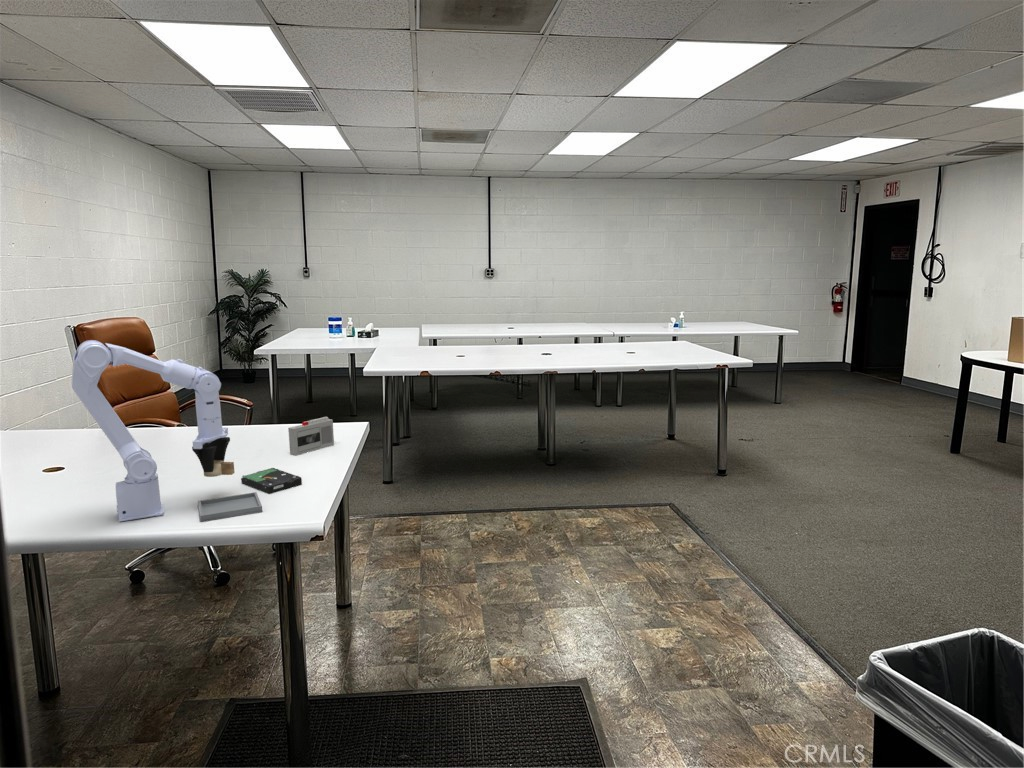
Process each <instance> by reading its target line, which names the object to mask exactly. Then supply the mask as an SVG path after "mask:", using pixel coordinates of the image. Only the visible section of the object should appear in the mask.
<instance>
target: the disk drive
mask: <svg viewBox="0 0 1024 768" xmlns="http://www.w3.org/2000/svg"><path fill="white" fill-rule="evenodd" d="M240 481H241V484H242V485H244V486H247V487H250V488H251V489H255V490H257V491H260V492H261V493H265V494H268V495H272V494H274V493H278V492H282V491H285V490H288V489H289V490H290V489H292V487H293V488H296V487H299V486H302V485H303V482H302V481H303V479H302V477H301V476H299V475H295V474H292V473H290V472H287V471H285V470H281V469H278V468H275V467H271V468H267V469H262V470H258V471H257V472H253V473H250V474H247V475H242V476H241V478H240Z"/></svg>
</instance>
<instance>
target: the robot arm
mask: <svg viewBox="0 0 1024 768" xmlns="http://www.w3.org/2000/svg"><path fill="white" fill-rule="evenodd" d="M104 344H105V345H104ZM110 364H111V367H118V366H122V365H128V366H132V367H136V368H138V369H142V370H145V371H147V372H152V373H155V374H159V375H160V377H161V379H162V381H163V382H167V383H169V384H172V385H175V386H179V387H181V388H185V389H188V390H192V389H193V390H194V394H195V412H196V413H195V414H196V421H197V422H196V423H197V432H198V435H197V436H196V438H195V439H194V440H192V446H191V449H192V451H193V453H194V454H195V455H196V457H197V459H198V460H199V462H200V465H201V468H202V470H204V471H203V473H204V472H213V469H214V460H222V461H224V462H225V457H226V452H227V449H228V446H229V443H230V442H231V438H230V437H229V436H228V435H229V429H228V427H223V422H222V421H223V419H222V411H221V409H222V408H221V400H220V394H219V393H220V390H221V387H222V382H221V381H220V379H219V377H218V376H217V374H215V373H213V372H211V371H209V370H207V369H204V368H203V367H201V366H200V365H199V366H197V367H196V366H194V365H190V364H187V363H185V361H184V360H182V359H181V358H177V359H173V358H172V359H169V360H167V361H162V360H160V359H158V358H153V357H151V356H149V355H145V354H143V353H142V352H138V351H135V350H133V349H130V348H127V347H124V346H120V345H116V344H112V343H107V342H105V343H102V342H100V341H98V340H94V339H90V340H89V339H88V340H85V341H83V342H82V343H80V344H79V346H78V347H77V349H76V351H75V353H74V355H73V357H72V371H71V373H72V374H71V388H72V390H73V392H74V393H75V395H76V396H77V397H78V399H79V400H80V402H81V403H82V404H83V405H84V407H85V408H86V409H87V411H88V412H89V414H90V415H91V416H92V418H93V419H94V421H95V422H96V424H97V425H98V427H100V429H101V430H102V432H103V433H104V435H105V436H106V437H107V439H108V440H109V442H110V443H111V444H112V445H113V447H114V449H115V450H116V451H117V452H118V455H119V456H120V458H121V460H122V461H123V466H124V468H125V470H126V471H127V474H126V476H125V477H124V480H122V481H116V482H115V497H116V512H117V515H118V522H125V521H126V522H127V521H132V520H139V519H145V518H153V517H158V516H163V515H164V503H162V501H161V492H160V484H159V475H158V473H157V471H158V464H157V463H156V461H155V460H154V459H153V457H152V454H151V453H150V452H149V451H148V450H146V449H144V448H143V447H141V446H140V445H139V443H138V442H137V441H136V439H135V437H133V435H132V433H131V432H130V431H129V429H128V428H127V427H126V425H125V424H124V423H123V421H122V420H121V418H120V417H119V415H118V414H117V412H115V410H114V408H113V406H112V405H111V404H110V402H109V401H108V399H107V398H106V397H105V395H104V394H103V392H102V391H101V389H100V388H99V387H98V383H99V381H100V379H101V375H102V373H103V372H104V371H105V370H106V369H107V367H108V366H109V365H110Z"/></svg>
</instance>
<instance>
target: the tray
mask: <svg viewBox="0 0 1024 768" xmlns="http://www.w3.org/2000/svg"><path fill="white" fill-rule="evenodd" d="M197 504H198V510H199V511H198V512H199V519H200V520H199V521H200V523H202V522H209V521H210V522H211V521H215V520H222V519H228V518H233V517H240V516H246V515H253V514H257V513H258V514H259V513H262V512H263V506H262V502H261V500H260V497H259V495H258V492H257V491H254V492H248V493H241V494H240V493H239V494H234V495H227V496H221V497H215V498H208V499H202V500H201V499H200V500H198V502H197Z"/></svg>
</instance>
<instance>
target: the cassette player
mask: <svg viewBox="0 0 1024 768" xmlns="http://www.w3.org/2000/svg"><path fill="white" fill-rule="evenodd" d="M288 442H289V444H288V445H289V455H290V456H293V457H298V456H299V455H304V454H307V452H308V453H310V452H311V453H312V452H314V451H318V450H322V449H326V448H329V447H332V446H335V436H334V421H333V419H330V418H329V417H328V416H323V417H320V418H315V419H314V418H313V419H309V420H307V421H302V422H301V424H299V425H295V426H290V427H288Z"/></svg>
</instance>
